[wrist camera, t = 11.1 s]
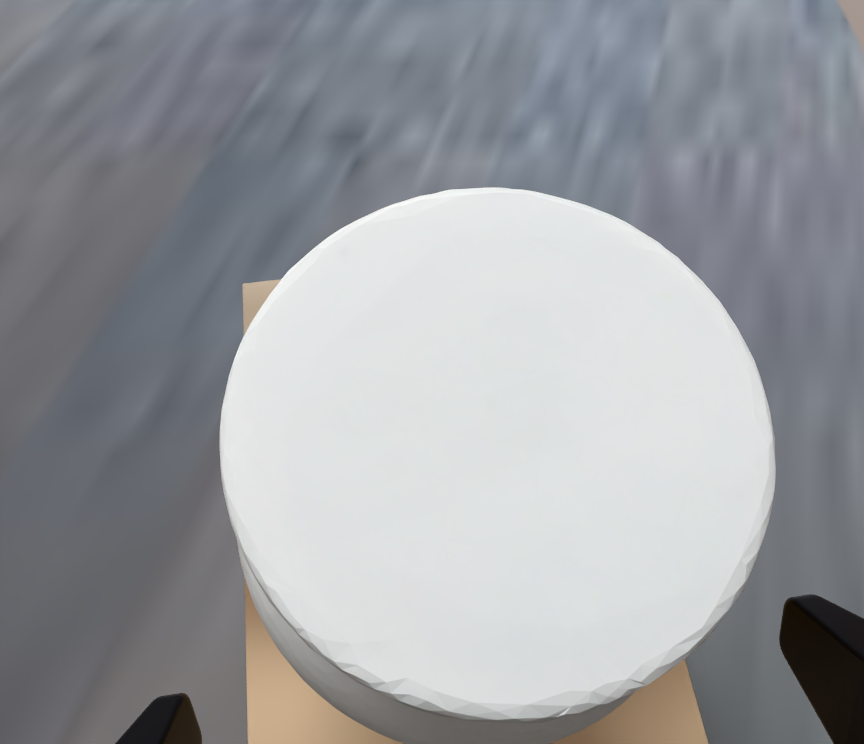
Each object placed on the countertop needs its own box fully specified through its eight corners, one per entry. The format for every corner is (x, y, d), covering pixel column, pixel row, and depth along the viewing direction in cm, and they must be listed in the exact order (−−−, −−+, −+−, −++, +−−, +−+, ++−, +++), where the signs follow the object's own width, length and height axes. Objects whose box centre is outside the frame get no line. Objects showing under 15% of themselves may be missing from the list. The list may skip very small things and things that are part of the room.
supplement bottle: (283, 520, 18) (-10, 318, 6) (475, 390, 20) (541, 30, 8) (422, 749, 16) (387, 1148, 4) (626, 581, 17) (1052, 489, 5)
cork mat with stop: (747, 904, 15) (906, 1044, 10) (257, 996, 14) (164, 1198, 9) (588, 328, 21) (637, 236, 16) (243, 372, 20) (183, 290, 15)
